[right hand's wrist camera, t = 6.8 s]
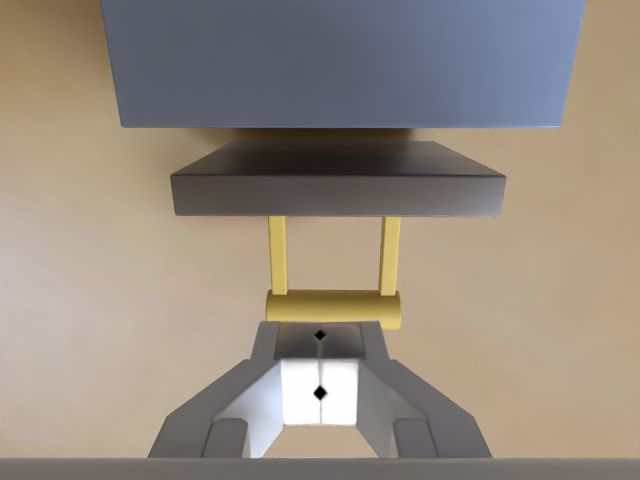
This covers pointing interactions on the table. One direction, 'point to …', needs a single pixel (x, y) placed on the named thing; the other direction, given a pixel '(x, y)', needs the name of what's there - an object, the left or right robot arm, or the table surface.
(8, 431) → the table surface
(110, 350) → the table surface
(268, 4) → the cabinet
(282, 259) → the drawer
